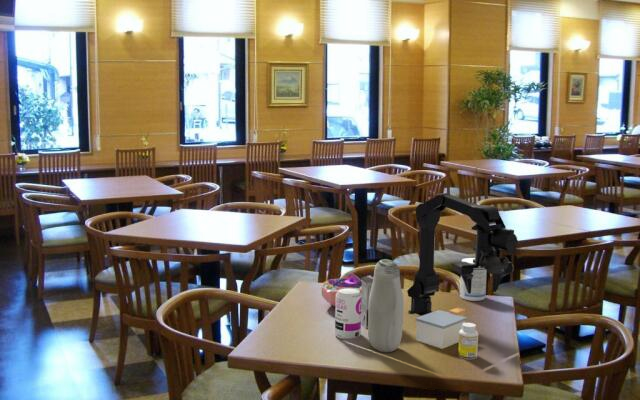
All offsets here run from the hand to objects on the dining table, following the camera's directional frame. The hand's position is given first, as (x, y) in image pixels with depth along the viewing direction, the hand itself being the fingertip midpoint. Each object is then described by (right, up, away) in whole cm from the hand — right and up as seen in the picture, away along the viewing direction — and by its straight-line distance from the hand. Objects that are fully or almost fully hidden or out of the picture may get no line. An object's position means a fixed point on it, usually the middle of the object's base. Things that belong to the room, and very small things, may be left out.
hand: (482, 292), depth 233 cm
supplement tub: (+6, -8, +42) cm, 43 cm away
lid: (-13, -9, -5) cm, 16 cm away
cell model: (-43, -9, +29) cm, 52 cm away
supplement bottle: (-9, -17, -19) cm, 27 cm away
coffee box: (-34, -12, +8) cm, 37 cm away
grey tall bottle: (-33, -16, -15) cm, 39 cm away
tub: (-15, -15, -6) cm, 22 cm away
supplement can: (-44, -14, -3) cm, 46 cm away
